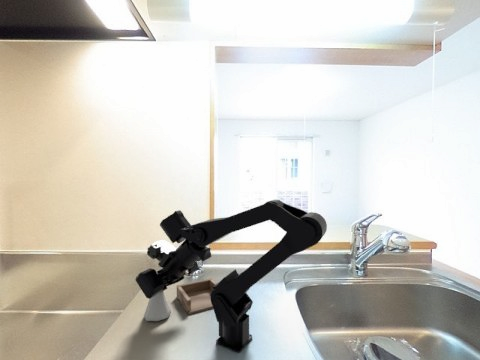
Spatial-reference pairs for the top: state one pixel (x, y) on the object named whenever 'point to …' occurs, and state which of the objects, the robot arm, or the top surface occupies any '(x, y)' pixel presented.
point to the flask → (157, 308)
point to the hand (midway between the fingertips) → (153, 290)
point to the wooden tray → (196, 295)
